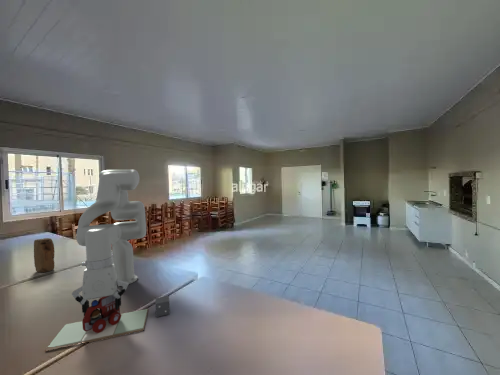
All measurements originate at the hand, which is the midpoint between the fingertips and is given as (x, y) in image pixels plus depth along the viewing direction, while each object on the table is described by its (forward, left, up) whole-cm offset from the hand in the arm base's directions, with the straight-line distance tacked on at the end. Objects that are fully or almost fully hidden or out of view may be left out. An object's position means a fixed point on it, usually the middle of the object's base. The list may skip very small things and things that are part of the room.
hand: (102, 310), depth 82 cm
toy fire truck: (0, 0, -6) cm, 6 cm away
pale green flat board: (0, 0, -6) cm, 6 cm away
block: (-83, -53, -6) cm, 99 cm away
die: (-2, +17, -4) cm, 18 cm away
